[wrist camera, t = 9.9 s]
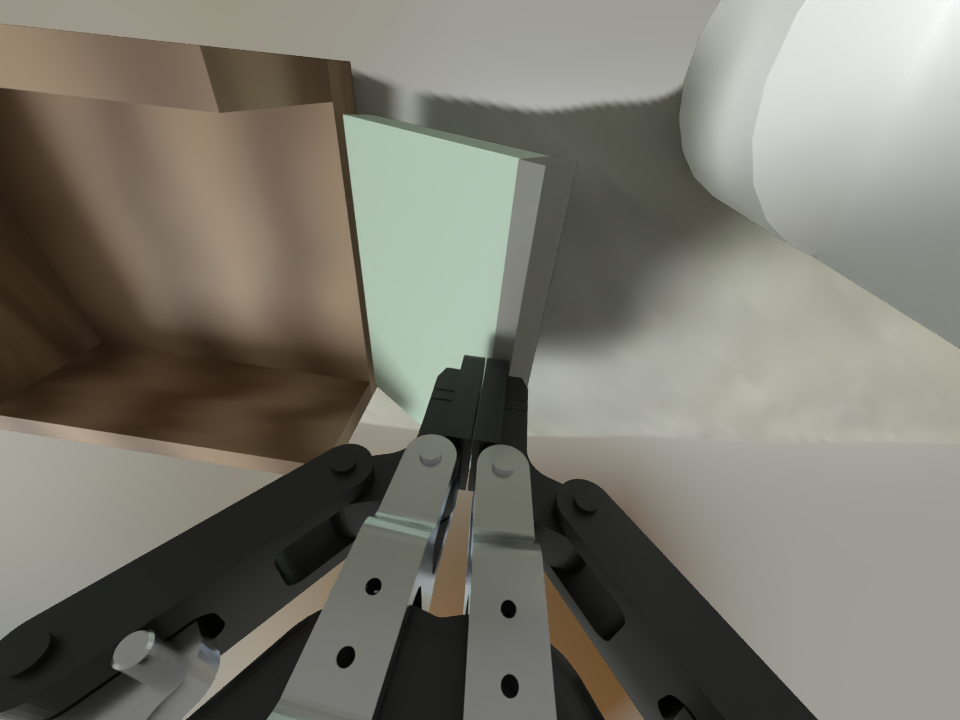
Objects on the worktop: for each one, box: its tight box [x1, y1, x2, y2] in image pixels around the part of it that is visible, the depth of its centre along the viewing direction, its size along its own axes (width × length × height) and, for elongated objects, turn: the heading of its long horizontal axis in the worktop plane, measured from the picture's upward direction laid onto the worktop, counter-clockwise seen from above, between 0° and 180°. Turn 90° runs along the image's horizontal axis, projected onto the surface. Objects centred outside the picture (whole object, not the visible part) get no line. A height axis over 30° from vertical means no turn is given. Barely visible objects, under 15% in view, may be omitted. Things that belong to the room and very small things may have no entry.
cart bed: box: [0, 24, 377, 475], centre depth 16 cm, size 18×16×8 cm
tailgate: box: [343, 114, 577, 468], centre depth 15 cm, size 1×13×9 cm
